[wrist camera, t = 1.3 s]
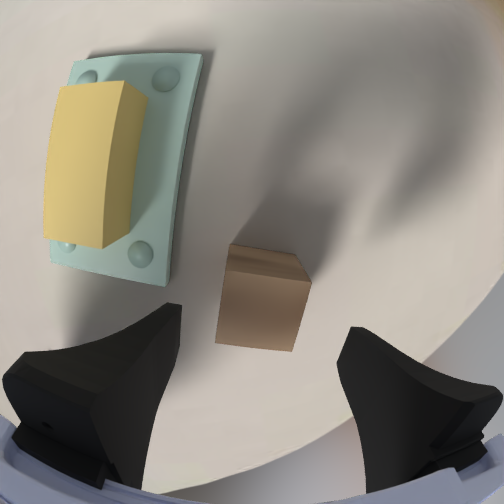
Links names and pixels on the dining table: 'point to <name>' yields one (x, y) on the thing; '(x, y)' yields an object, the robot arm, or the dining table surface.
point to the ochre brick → (92, 163)
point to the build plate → (144, 164)
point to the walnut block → (262, 299)
